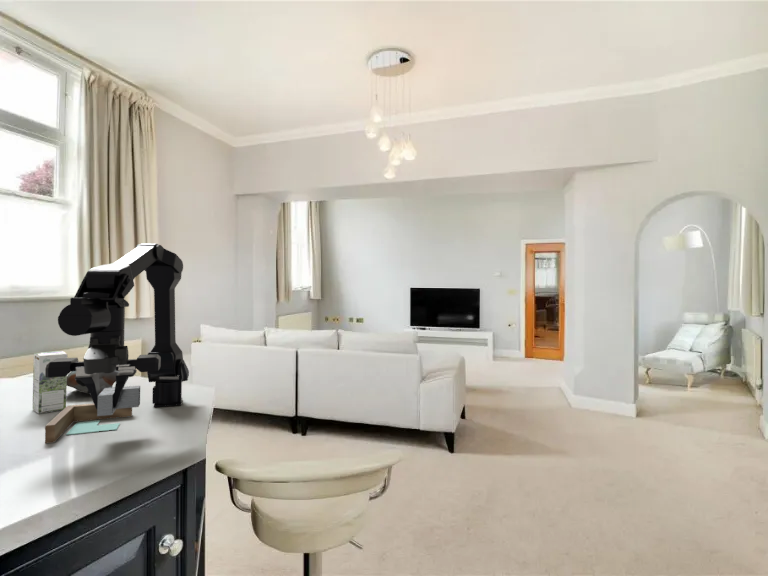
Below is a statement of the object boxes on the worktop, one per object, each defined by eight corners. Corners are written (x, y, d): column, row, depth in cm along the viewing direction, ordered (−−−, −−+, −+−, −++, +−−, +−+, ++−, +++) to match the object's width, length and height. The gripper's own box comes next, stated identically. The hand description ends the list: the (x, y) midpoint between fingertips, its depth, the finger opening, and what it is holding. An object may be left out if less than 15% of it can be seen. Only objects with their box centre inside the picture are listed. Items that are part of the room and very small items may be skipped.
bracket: (104, 406, 89) (105, 388, 89) (139, 404, 92) (140, 385, 92) (97, 416, 83) (97, 395, 83) (135, 412, 85) (135, 393, 85)
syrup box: (60, 405, 110) (61, 350, 110) (66, 409, 106) (67, 352, 106) (32, 410, 106) (33, 352, 106) (38, 414, 102) (39, 354, 102)
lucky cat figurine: (78, 387, 129) (105, 346, 134) (114, 403, 130) (140, 361, 134) (48, 383, 115) (80, 337, 120) (89, 401, 115) (118, 354, 120)
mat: (66, 435, 88) (66, 434, 88) (77, 423, 96) (77, 422, 96) (116, 430, 92) (116, 429, 92) (122, 418, 100) (122, 418, 100)
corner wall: (132, 414, 103) (132, 400, 103) (121, 435, 89) (121, 418, 89) (67, 420, 98) (67, 405, 98) (45, 443, 84) (45, 425, 84)
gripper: (35, 336, 73) (33, 425, 73) (156, 333, 81) (155, 414, 81) (55, 330, 84) (54, 408, 84) (161, 327, 91) (160, 400, 91)
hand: (106, 408), depth 84 cm, fingers closed on bracket, 2 cm apart
